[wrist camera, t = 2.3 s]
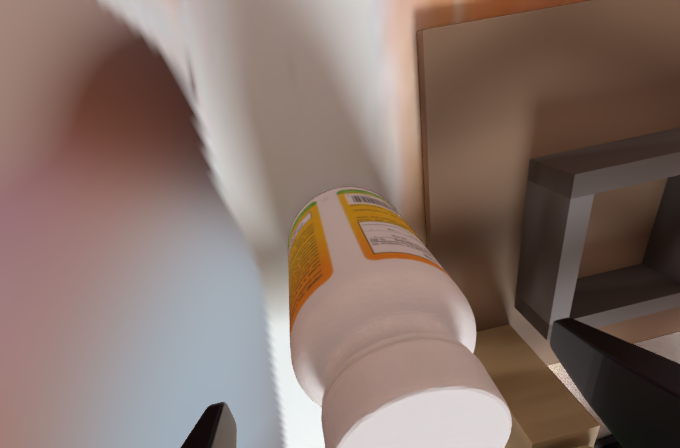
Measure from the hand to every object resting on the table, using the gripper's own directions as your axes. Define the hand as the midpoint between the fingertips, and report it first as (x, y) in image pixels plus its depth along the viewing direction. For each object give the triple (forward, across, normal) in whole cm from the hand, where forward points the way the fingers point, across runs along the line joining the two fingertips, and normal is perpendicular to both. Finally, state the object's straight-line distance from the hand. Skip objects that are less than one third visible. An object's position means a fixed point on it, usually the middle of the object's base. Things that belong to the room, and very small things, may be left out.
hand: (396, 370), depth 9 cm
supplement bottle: (+8, 0, 0) cm, 8 cm away
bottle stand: (+8, -13, +2) cm, 15 cm away
